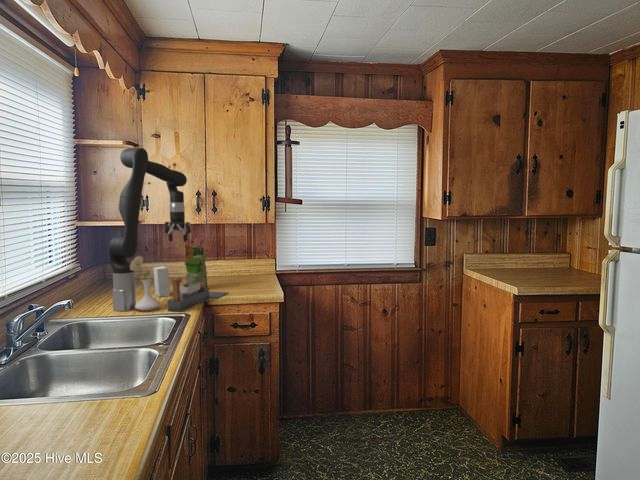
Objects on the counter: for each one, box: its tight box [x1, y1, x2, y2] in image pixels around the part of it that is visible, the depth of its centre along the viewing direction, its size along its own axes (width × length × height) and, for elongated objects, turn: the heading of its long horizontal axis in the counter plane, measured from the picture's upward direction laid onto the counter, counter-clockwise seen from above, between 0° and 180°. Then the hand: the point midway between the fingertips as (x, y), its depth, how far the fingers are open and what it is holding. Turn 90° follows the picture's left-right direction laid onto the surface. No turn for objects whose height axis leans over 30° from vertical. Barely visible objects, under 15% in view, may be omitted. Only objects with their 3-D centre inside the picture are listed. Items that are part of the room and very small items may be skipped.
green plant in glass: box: [184, 244, 208, 289], centre depth 261 cm, size 11×12×25 cm
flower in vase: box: [130, 255, 162, 311], centre depth 218 cm, size 13×11×25 cm
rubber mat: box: [209, 290, 229, 300], centre depth 247 cm, size 12×12×1 cm
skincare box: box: [152, 265, 171, 298], centre depth 248 cm, size 8×6×15 cm
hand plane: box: [167, 277, 210, 313], centre depth 227 cm, size 26×6×14 cm, turn 164°
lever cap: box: [180, 282, 200, 294], centre depth 228 cm, size 10×5×4 cm, turn 164°
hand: (178, 241), depth 254 cm, fingers open, 8 cm apart
